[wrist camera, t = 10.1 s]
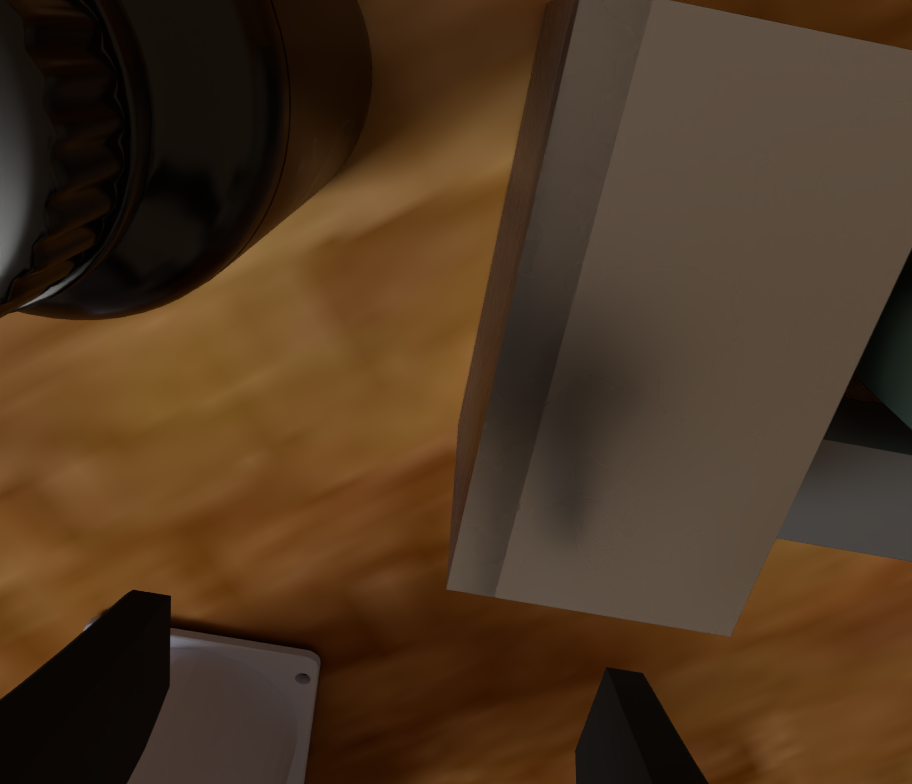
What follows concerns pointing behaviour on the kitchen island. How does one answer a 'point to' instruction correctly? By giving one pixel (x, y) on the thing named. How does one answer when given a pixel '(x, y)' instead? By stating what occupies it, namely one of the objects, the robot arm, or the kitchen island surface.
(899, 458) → the socket block
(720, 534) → the grey rectangular block
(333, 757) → the kitchen island surface
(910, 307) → the peg
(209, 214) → the supplement bottle
